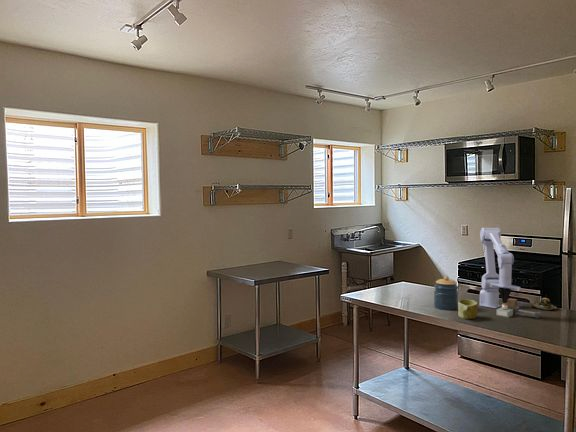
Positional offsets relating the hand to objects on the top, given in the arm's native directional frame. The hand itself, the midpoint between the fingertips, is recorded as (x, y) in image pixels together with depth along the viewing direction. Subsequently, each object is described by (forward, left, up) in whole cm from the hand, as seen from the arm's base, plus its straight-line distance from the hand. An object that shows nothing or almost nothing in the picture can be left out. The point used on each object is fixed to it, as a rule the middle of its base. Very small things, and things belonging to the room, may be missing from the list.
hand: (504, 302), depth 236 cm
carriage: (+1, +8, -7) cm, 10 cm away
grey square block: (0, 0, -7) cm, 7 cm away
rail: (+5, +8, -7) cm, 11 cm away
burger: (+9, +30, -7) cm, 32 cm away
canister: (-29, -7, -7) cm, 31 cm away
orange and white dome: (0, 0, -3) cm, 3 cm away
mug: (-11, -19, -7) cm, 23 cm away
